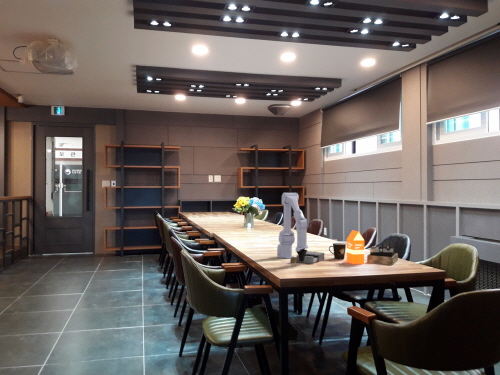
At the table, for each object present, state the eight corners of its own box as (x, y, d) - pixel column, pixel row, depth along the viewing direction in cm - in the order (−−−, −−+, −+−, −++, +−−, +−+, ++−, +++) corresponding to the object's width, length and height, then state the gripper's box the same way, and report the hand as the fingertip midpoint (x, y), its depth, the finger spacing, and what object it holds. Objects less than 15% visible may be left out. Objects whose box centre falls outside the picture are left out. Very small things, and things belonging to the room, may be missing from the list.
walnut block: (290, 262, 235) (290, 257, 235) (292, 262, 237) (292, 256, 238) (295, 263, 233) (295, 257, 233) (297, 262, 236) (297, 257, 236)
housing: (301, 259, 246) (301, 253, 246) (307, 257, 254) (307, 251, 254) (319, 261, 240) (319, 254, 240) (324, 259, 248) (324, 252, 248)
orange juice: (352, 263, 234) (353, 231, 234) (346, 261, 242) (346, 230, 243) (364, 263, 235) (364, 231, 236) (357, 261, 244) (357, 230, 244)
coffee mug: (344, 257, 256) (345, 243, 256) (346, 260, 247) (347, 244, 247) (327, 257, 257) (327, 242, 257) (328, 259, 248) (328, 244, 248)
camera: (388, 262, 248) (387, 247, 250) (395, 262, 238) (394, 246, 240) (366, 262, 247) (365, 246, 249) (372, 262, 237) (371, 246, 239)
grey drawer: (296, 261, 238) (296, 255, 238) (302, 259, 246) (302, 253, 246) (313, 263, 232) (313, 257, 232) (319, 261, 241) (319, 254, 241)
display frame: (367, 262, 240) (367, 255, 240) (374, 258, 256) (374, 251, 256) (392, 265, 232) (392, 257, 232) (397, 260, 248) (397, 253, 248)
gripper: (303, 241, 222) (303, 264, 222) (312, 238, 235) (312, 260, 235) (292, 240, 226) (292, 262, 226) (301, 237, 239) (301, 259, 238)
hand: (301, 261), depth 231 cm, fingers closed
